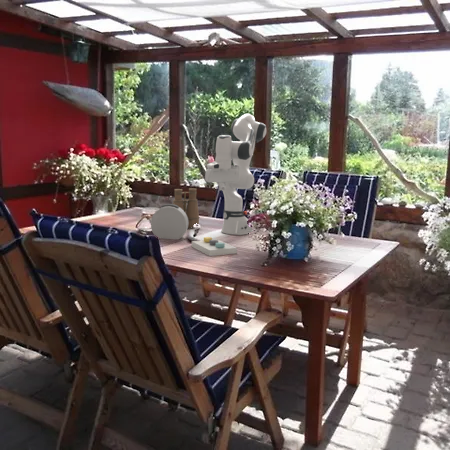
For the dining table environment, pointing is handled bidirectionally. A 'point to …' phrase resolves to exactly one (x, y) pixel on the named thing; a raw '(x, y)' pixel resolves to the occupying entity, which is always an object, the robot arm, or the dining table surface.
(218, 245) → the button teal
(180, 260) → the dining table surface
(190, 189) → the binoculars
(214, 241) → the button charcoal
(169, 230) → the grey round slab
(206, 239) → the button mustard
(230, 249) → the panel
